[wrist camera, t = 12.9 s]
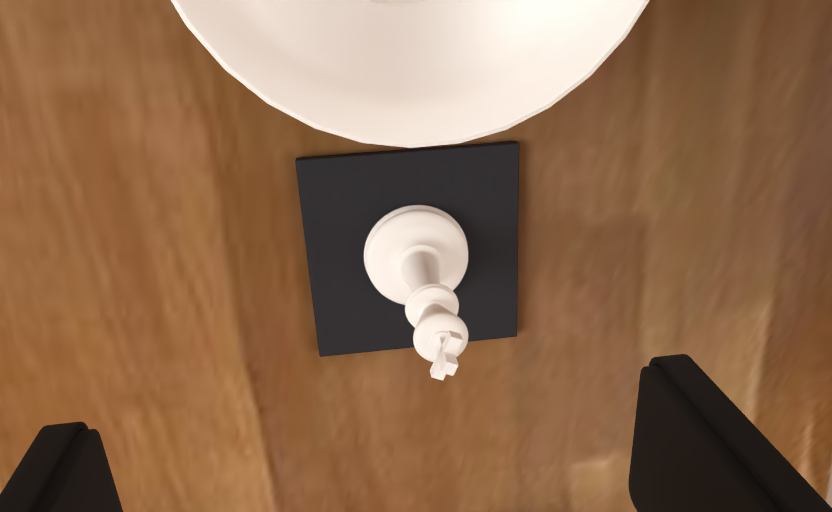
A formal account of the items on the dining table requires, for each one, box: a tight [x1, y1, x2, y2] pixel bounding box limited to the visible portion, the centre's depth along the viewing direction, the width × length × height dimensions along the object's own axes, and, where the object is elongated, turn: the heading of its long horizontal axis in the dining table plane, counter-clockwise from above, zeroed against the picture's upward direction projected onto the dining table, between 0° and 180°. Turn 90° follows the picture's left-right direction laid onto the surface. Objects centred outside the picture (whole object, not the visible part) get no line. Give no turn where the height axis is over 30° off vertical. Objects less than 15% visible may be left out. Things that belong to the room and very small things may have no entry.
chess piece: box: [364, 205, 468, 380], centre depth 26 cm, size 5×5×10 cm
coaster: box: [295, 141, 519, 357], centre depth 31 cm, size 10×10×1 cm
